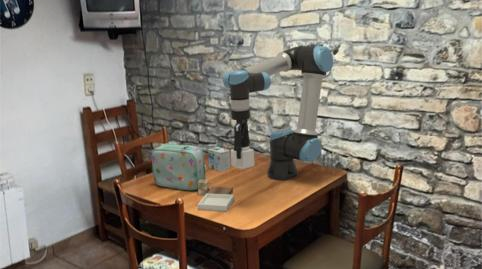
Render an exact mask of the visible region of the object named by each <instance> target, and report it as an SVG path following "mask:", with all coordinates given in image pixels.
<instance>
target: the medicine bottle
mask: <svg viewBox="0 0 482 269" xmlns="http://www.w3.org/2000/svg"><path fill="white" fill-rule="evenodd" d="M249 140H250V138H249V139H248V138H246V137H243V140H242V150H243V166H236V151H234V150H233V149H234V148H232V149H230V166H232V167H234V168H236V169H239V170H244V169H248V168H252V167H254V166H256V165H255V164H256V163H255V150H254V148H250V143H249ZM237 148H239V147H237Z"/></svg>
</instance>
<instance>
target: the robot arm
mask: <svg viewBox="0 0 482 269" xmlns="http://www.w3.org/2000/svg"><path fill="white" fill-rule="evenodd" d="M333 66H334V56H333V53H332V51H331V50H330V48H328V47H327V46H324V45H297V46H294V47H291V48H288V49H285V50H284V51H280V52H278V53H277V55H275V56H273V57H271V58H268V59H265V60H263V61H260V62H258V63H255V64H252V65H250V66H246V67H244V68H241V69H238V70H231V71H230V70H229V71H226V72H225V73H224V75H223V77H222V83H223V85H224V87H226V88H227V89H229V94H230V96H229V98H230V101H229V104H230V108H231V111H230V115H231V116H230V117H231V119H232V120H233V121H236V122H235V124H234V126H233V130H234V131H233V132H234V133H233V134H234V135H233V137H234V138H233V142H234V143H233V148H232V149H233V150H234V151H236V166H243V150H242V140H243V137H246V138H248V139H249V144H250V143H251V140H250V134H249V133H250V132H249V125H248V124H249V123H248V121H249V119H251V118H250V117H251V112H250V106H251V105H250V93H256V92H264V91H266V90H268V89H269V88H270V86H271V84H272V81H271V79H272V78H271V76H274V75H276V74H279V73H281V72H284V73H285V72H289V71H301V73H300V75H301V76H302V77H303V81H302V82H303V83H302V88H301V96H300V97H301V98H300V105H299V110H298V118H297V127H296V129H294V130H293V129H291V128H289V129H287V128H285V129H278V130H274V131H272V132H270V134H269V152H270V154H269V156H270V160H269V161H270V162H269V165H268V168H267V173H266V174H267V177H268V178H269V179H271V180H275V181H288V180H292V179H296V178H297V177H298V173H299V172H298V168H297V165H296V163H295V160H298V161H301V162H306V163H312V162H313V161H316V160H317V158H318V157H319V156H320V154H321V153H322V146H323V144H322V142H321V140H320V139H319V138H318V136H319V134H318V132H317V131H316V128H317V122H318V121H317V120H318V112H319V107H320V100H321V99H320V98H321V90H322V84H323V80H324V79H325V78H326V77H327V73H329V72H330V71H331V70H332V69H333ZM237 147H239V148H237Z"/></svg>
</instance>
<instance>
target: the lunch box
mask: <svg viewBox="0 0 482 269" xmlns="http://www.w3.org/2000/svg"><path fill="white" fill-rule="evenodd" d="M206 165H207V164H206V163H205V155H204V151H203V149H201V147H199V146H196V145H189V144H175V143H170V142H169V143H163V144H161V145H159V146H158V147H156V148H154V149H152V151H151V166H152V177H153V181H154V183H155V184H156V185H157V186H158V187H164V188H169V189H173V190H174V189H175V190H184V191H190V192H191V191H196V190H197V191H198V182H199V181H200V180H206V177H207V176H206V171H207V170H208V169H207V166H206Z"/></svg>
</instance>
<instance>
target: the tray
mask: <svg viewBox="0 0 482 269" xmlns="http://www.w3.org/2000/svg"><path fill="white" fill-rule="evenodd" d="M234 201H235V195H234V194H231V195H229V194H209V193H207V194H206V195H203V197H202V198H201V199H200V201H199V202H198V203H197V211H207V210H210V211H211V210H212V211H211V212H228V211H229V209H230V208H231V206H232V204H233V203H234Z"/></svg>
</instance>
